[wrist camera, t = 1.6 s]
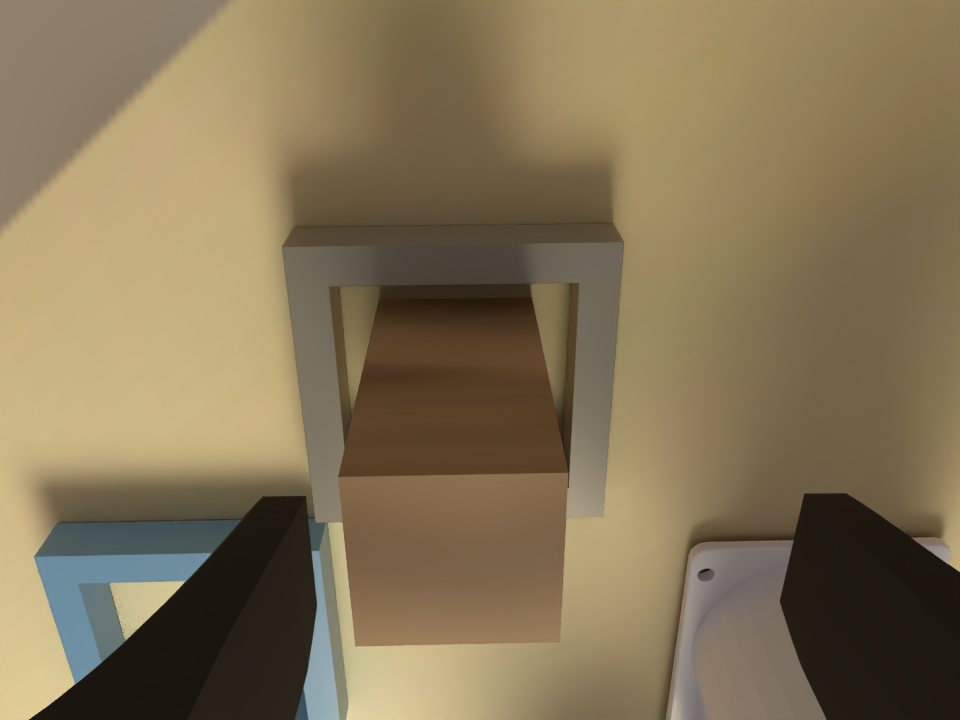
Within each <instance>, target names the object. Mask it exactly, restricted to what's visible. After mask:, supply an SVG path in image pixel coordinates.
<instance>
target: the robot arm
mask: <svg viewBox="0 0 960 720" xmlns="http://www.w3.org/2000/svg"><path fill="white" fill-rule="evenodd" d="M950 558H951V549H950V548H949V546H948V545H947V544H946V543H945V541H944V540H942V539H940V538H936V537H922V538H911V537H909V536H908V535H907V534H905V533H904V532H902V531H901V530H900V529H898V528H897V527H895V526H894V525H892V524H891V523H890V522H888V521H887V520H885V519H884V518H883V517H881V516H880V515H878V514H877V513H875V512H874V511H872V510H871V509H870V508H868V507H867V506H865V505H864V504H862V503H861V502H859V501H857V500H856V499H854V498H853V497H851V496H849V495H848V494H846V493H832V494H804V498H803V502H802V506H801V511H800V515H799V519H798V524H797V528H796V532H795V536H794V540H776V541H727V542H703V543H699V544H697V545H696V546H694V547H693V548H692V549H691V550H690V553H689V556H688V563H687V571H686V578H685V585H684V592H683V599H682V606H681V614H680V621H679V628H678V635H677V642H676V649H675V657H674V664H673V671H672V678H671V685H670V692H669V700H668V707H667V714H666V720H960V572H959V571H957V570H956V569H954V568H953V567H952V566H950V565H949V561H950ZM706 568H708V569H709V570H708V571H707V572H704V573H699V571H701V570H702V569H706ZM316 612H317V597H316V588H315V578H314V569H313V560H312V550H311V541H310V531H309V522H308V513H307V503H306V496H280V497H262V498H261V499H260V500H259V501H258V502H257V503H256V504H255V505H254V506H253V507H252V508H251V510H250V511H249V512H248V513H247V514H246V515H245V516H244V518H243V519H242V520H241V521H240V522H239V523H238V524H237V526H236V527H235V528H234V529H233V530H232V531H231V532H230V534H229V535H228V536H227V537H226V538H225V539H224V540H223V542H222V543H221V544H220V545H219V546H218V547H217V548H216V549H215V551H214V552H213V553H212V554H211V555H210V556H209V557H208V558H207V559H206V561H205V562H204V563H203V564H202V565H201V566H200V567H199V568H198V569H197V570H196V571H195V572H194V573H193V574H192V575H191V576H190V577H189V579H188V580H187V581H186V582H185V583H184V584H183V585H182V586H181V587H180V588H179V589H178V590H177V591H176V592H175V593H174V594H173V595H172V596H171V597H170V598H169V600H168V601H167V602H166V603H165V604H164V605H162V606H161V607H160V608H159V609H158V610H157V611H156V612H155V613H154V614H153V615H152V616H151V617H150V618H149V619H148V620H147V621H146V622H145V623H144V624H143V625H142V626H141V627H140V628H139V629H137V630H136V631H135V632H134V633H133V634H132V635H131V636H130V637H129V638H128V639H127V640H126V641H125V642H124V643H123V644H122V645H121V646H119V647H118V648H117V649H116V650H115V651H114V652H113V653H112V654H110V655H109V656H108V657H107V658H106V659H105V660H104V661H103V662H101V663H100V664H99V665H98V666H97V667H96V668H94V669H93V670H92V671H91V672H90V673H89V674H87V675H86V676H85V677H84V678H83V679H81V680H80V681H79V682H78V683H76V684H75V685H74V686H73V687H71V688H70V689H69V690H68V691H67V692H65V693H64V694H63V695H62V696H60V697H59V698H58V699H56V700H55V701H54V702H53V703H51V704H50V705H49V706H47V707H46V708H45V709H43V710H42V711H40V712H39V713H38V714H36V715H35V716H33V717H32V718H31V719H29V720H295V717H296V714H297V710H298V706H299V702H300V699H301V695H302V691H303V687H304V684H305V680H306V676H307V672H308V666H309V660H310V653H311V647H312V640H313V633H314V626H315V619H316Z"/></svg>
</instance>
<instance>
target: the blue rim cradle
mask: <svg viewBox="0 0 960 720" xmlns="http://www.w3.org/2000/svg"><path fill="white" fill-rule="evenodd" d="M240 521H241V520H196V521H145V522H95V523H57V525H56V526H55V528H54V529H53V531H52V532H51V533H50V535H49V536H48V538H47V539H46V540H45V542H44V543H43V545H42V546H41V548H40V549H39V550H38V552H37V553H36V555H35V556H34V558H35V562H36V565H37V568H38V571H39V574H40V577H41V580H42V583H43V586H44V589H45V592H46V595H47V598H48V601H49V605H50V608H51V611H52V614H53V617H54V620H55V623H56V626H57V629H58V632H59V635H60V638H61V641H62V645H63V648H64V651H65V654H66V657H67V660H68V663H69V666H70V669H71V672H72V675H73V678H74V681H75V684H76V683H78V682H79V681H80V680H81V679H83V678H84V677H85V676H86V675H87V674H89V673H90V672H91V671H92V670H93V669H94V668H96V667H97V666H98V665H99V664H100V663H101V662H103V661H104V660H105V659H106V658H107V657H108V656H109V655H110V654H112V653H113V652H114V651H115V650H116V649H117V648H118V647H119V646H121V645H122V644H123V643H124V642H125V641H124V638H123V634H122V631H121V627H120V623H119V620H118V616H117V613H116V609H115V605H114V602H113V598H112V595H111V591H110V587H109V584H108V583H119V582H166V581H187V580H188V579H189V577H190V576H191V575H192V574H193V573H194V572H195V571H196V570H197V569H198V568H199V567H200V566H201V565H202V564H203V563H204V562H205V561H206V559H207V558H208V557H209V556H210V555H211V554H212V553H213V552H214V551H215V549H216V548H217V547H218V546H219V545H220V544H221V543H222V542H223V540H224V539H225V538H226V537H227V536H228V535H229V534H230V532H231V531H232V530H233V529H234V528H235V527H236V526H237V524H238V523H239V522H240ZM308 522H309V531H310V541H311V550H312V560H313V569H314V578H315V588H316V597H317V612H316V619H315V626H314V633H313V640H312V647H311V653H310V660H309V666H308V672H307V676H306V680H305V684H304V687H303V691H302V695H301V699H300V702H299V706H298V710H297V714H296V717H295V720H346V717H347V710H348V698H347V690H346V681H345V672H344V663H343V655H342V646H341V637H340V628H339V620H338V611H337V602H336V593H335V585H334V576H333V567H332V558H331V550H330V541H329V532H328V523H327V522H320V523H316V521H315V518H308Z"/></svg>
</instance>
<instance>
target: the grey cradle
mask: <svg viewBox="0 0 960 720" xmlns="http://www.w3.org/2000/svg"><path fill="white" fill-rule="evenodd" d="M623 249H624V241H623V240H622V238H621V236H620V234H619V233H618V231H617V229H616V227H615V226H614V224H613V223H597V224H523V225H448V226H374V227H300V228H293V230H292V231H291V233H290V235H289V236H288V238H287V240H286V241H285V243H284V245H283V246H282V251H283V259H284V268H285V276H286V284H287V292H288V300H289V309H290V317H291V325H292V333H293V341H294V349H295V358H296V366H297V374H298V382H299V390H300V398H301V407H302V415H303V423H304V431H305V439H306V448H307V456H308V464H309V472H310V480H311V488H312V497H313V505H314V513H315V521H316V523H320V522H343V520H342V511H341V501H340V492H339V482H338V475H339V471H340V466H341V462H342V458H343V453H344V449H345V445H346V440H347V436H348V432H349V428H350V423H351V409H350V398H349V387H348V376H347V365H346V354H345V343H344V332H343V321H342V310H341V299H340V288H339V286H396V285H464V284H532V283H571V287H570V308H569V330H568V351H567V372H566V394H565V415H564V436H563V449H564V454H565V459H566V464H567V468H568V491H567V510H566V518H571V517H603V510H604V497H605V484H606V471H607V458H608V445H609V432H610V419H611V406H612V393H613V380H614V366H615V353H616V340H617V327H618V314H619V301H620V288H621V275H622V262H623Z"/></svg>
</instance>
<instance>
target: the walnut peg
mask: <svg viewBox="0 0 960 720" xmlns="http://www.w3.org/2000/svg"><path fill="white" fill-rule="evenodd" d="M338 482H339V492H340V501H341V511H342V520H343V530H344V540H345V549H346V559H347V569H348V578H349V588H350V598H351V607H352V617H353V627H354V636H355V646H393V645H439V644H484V643H530V642H560V627H561V607H562V588H563V568H564V549H565V529H566V510H567V491H568V468H567V464H566V459H565V454H564V449H563V445H562V440H561V435H560V430H559V425H558V421H557V416H556V411H555V406H554V401H553V397H552V392H551V387H550V382H549V378H548V373H547V368H546V363H545V358H544V354H543V349H542V344H541V339H540V334H539V330H538V325H537V320H536V315H535V311H534V306H533V301H532V298H477V299H409V300H379V303H378V307H377V312H376V316H375V320H374V324H373V329H372V333H371V337H370V342H369V346H368V350H367V355H366V359H365V363H364V367H363V372H362V376H361V380H360V385H359V389H358V393H357V397H356V402H355V406H354V410H353V415H352V419H351V423H350V428H349V432H348V436H347V440H346V445H345V449H344V453H343V458H342V462H341V466H340V471H339V475H338Z"/></svg>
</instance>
